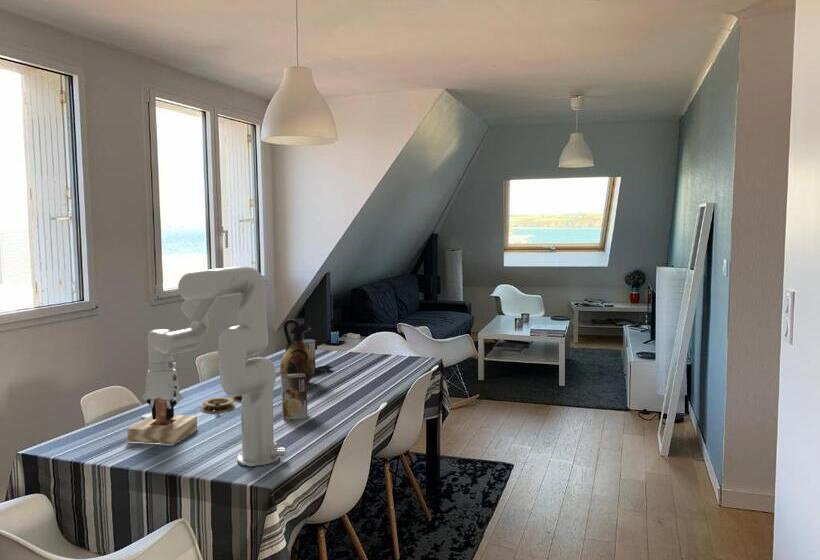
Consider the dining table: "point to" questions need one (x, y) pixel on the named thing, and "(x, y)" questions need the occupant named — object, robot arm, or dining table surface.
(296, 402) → the coffee box
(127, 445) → the dining table surface
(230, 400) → the tableware set
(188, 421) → the socket block
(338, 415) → the dining table surface
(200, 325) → the robot arm
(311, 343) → the milk frother
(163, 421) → the peg
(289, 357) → the ceramic jug
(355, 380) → the dining table surface
